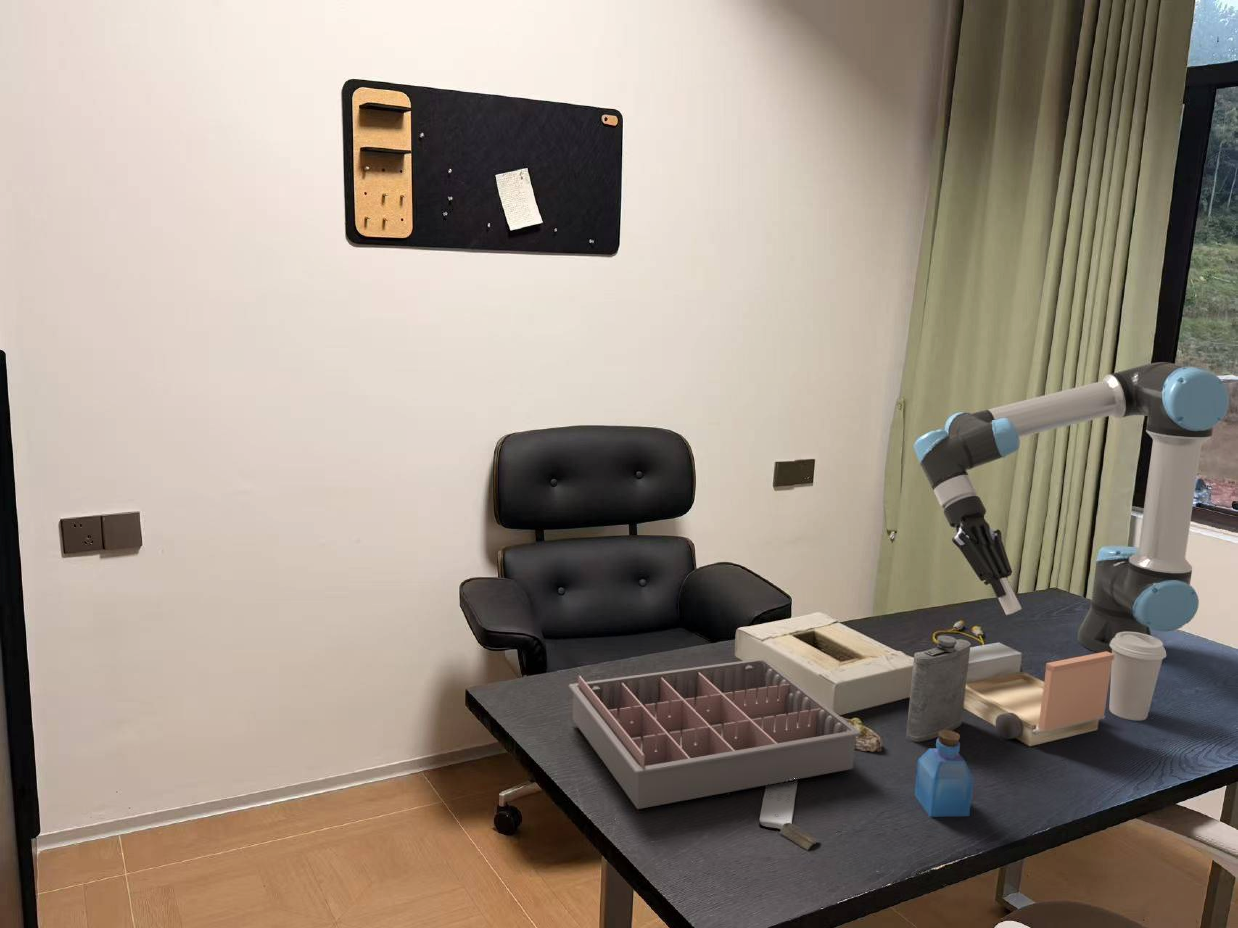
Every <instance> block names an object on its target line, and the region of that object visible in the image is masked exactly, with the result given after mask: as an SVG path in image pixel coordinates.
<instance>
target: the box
mask: <svg viewBox="0 0 1238 928" xmlns="http://www.w3.org/2000/svg"><path fill="white" fill-rule="evenodd" d="M734 638H735V640H734V656H735V658H738V659H739V660H741V661H747V660H754V659H761V658H765V659H766V660H768V661H769V662H770V663H772V664H773V665H774V666H775V667H777V668H778V669H779V670H781V671H782V672H783V673H785V674H786V675H787V676H788V677H790V678H791V679H792V680H794V681H795V682H796V683H797V684H799V685H800V686H801V687H803V688H804V689H805V690H806V691H808V692H809V693H810V694H812V695H813V696H814V697H816V698H817V699H818V700H819V701H821V702H822V703H823V704H825V705H826V706H827V707H828V708H830V709H831V710H832V711H834V712H835V713H836V714H838V715H839V716H842V715H845V714H850V713H854V712H857V711H861V710H864V709H865V710H866V709H869V708H873V707H876V706H880V705H884V704H885V705H886V704H888V703H893V702H896V701H900V700H903V699H907V698H908V699H909V698H910V693H911V683H912V673H913V663H914V656H910V655H908V654H905V653H904V652H903V651H900V650H895V649H893V648H891V647H890V646H887V645H885V644H883V643H881V642H879V641H877V640H875V639H873V638H871V637H869V636H867V635H865V634H863V633H861V632H859V631H856V630H855V629H854V628H853V629H852V628H850V627H849V626H847V625H844V624H842V623H840V622H839V621H838V620H837V619H834V618H832V617H830V616H829V615H828V614H826V613H823V612H819V611H817V612H813V613H810V614H806V615H800V616H796V617H791V618H790V617H789V618H785V619H781V620H775V621H771V622H770V621H769V622H763V623H761V624H759V623H758V624H754V625H750V626H741V627H738V628H737V629H736V630H735V637H734Z"/></svg>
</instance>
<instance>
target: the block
mask: <svg viewBox="0 0 1238 928" xmlns="http://www.w3.org/2000/svg"><path fill="white" fill-rule="evenodd" d="M779 835H780V836H781V837H783V838H785V839H786V840H788V841H790V842H792V843H793V844H794V845H797V846H799V847H800V848H802V849H803V850H805V851H807V852H809V851H811V850H812V849H814V848H817V847H818V846H819V845H821V844H822V842H820V841H819V840H818V839H816V838H815V837H813V836H811V835H810V834H809V833H808V832H807V831H805V830H803V829H802V828H801V827H799V826H797V824H796V825H795V824H793V823H791V822H786V823H784V824H782V826H781V827H780V831H779Z"/></svg>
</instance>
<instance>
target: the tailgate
mask: <svg viewBox="0 0 1238 928" xmlns="http://www.w3.org/2000/svg"><path fill="white" fill-rule="evenodd" d="M1112 660H1114V654H1112V653H1109V652H1107V651H1106V652H1101V653H1097V652H1095V653H1092V654H1091V653H1090V654H1087V655H1082V656H1076V657H1071V658H1067V659H1061V660H1057V661H1052V662H1047V663H1045V674H1044V675H1045V676H1044V681H1043V682H1044V688H1043V696H1042V704H1041V711H1040V719H1039V726H1038V729H1034V730H1032V733H1033V734H1034V735H1037V734H1041V733H1045V732H1049V731H1054V730H1058V729H1062V728H1066V727H1070V726H1075V725H1079V724H1083V723H1087V722H1092V721H1096V720H1099V721H1100V720H1104V719H1105V718H1106V715H1105V711H1106V706H1107V705H1106V703H1107V698H1108V692H1109V691H1108V690H1109V685H1110V684H1109V683H1110V679H1111V664H1112Z"/></svg>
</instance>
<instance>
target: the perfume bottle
mask: <svg viewBox="0 0 1238 928" xmlns="http://www.w3.org/2000/svg"><path fill="white" fill-rule="evenodd" d="M938 734H939V736H938V737H937V739H936V743H935V747H936V748H935V747H933V748H929V749H927V750H926V751H925V753H923V754H922V755H921V757H919V758H918V759H917V760H918V761H917V768H916V769H917V770H916V779H915V790H914V796H915V798H916V799H917V800H918V802H919V803H920V805H921V806H922V808H923V810H925V812H926V813H927V815H928V817H929V818H932V817H933V818H936V817H938V818H939V817H940V818H941V817H942V818H943V817H969V816H970V810H971V802H972V801H971V800H972V795H973V794H972V793H973V785H974V778H973V776H972V774H971V772H970V769H969V767H968V765H967V762H966V761H965V759H964V758H963V757H962V755H960V754H959V752H960V750H961V749H960V747H961V743H960V742H959V740H960V738H961V737H960V734H959V733H958V732H955V731H954V730H952V731H949V730H942V731H939V733H938Z"/></svg>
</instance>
